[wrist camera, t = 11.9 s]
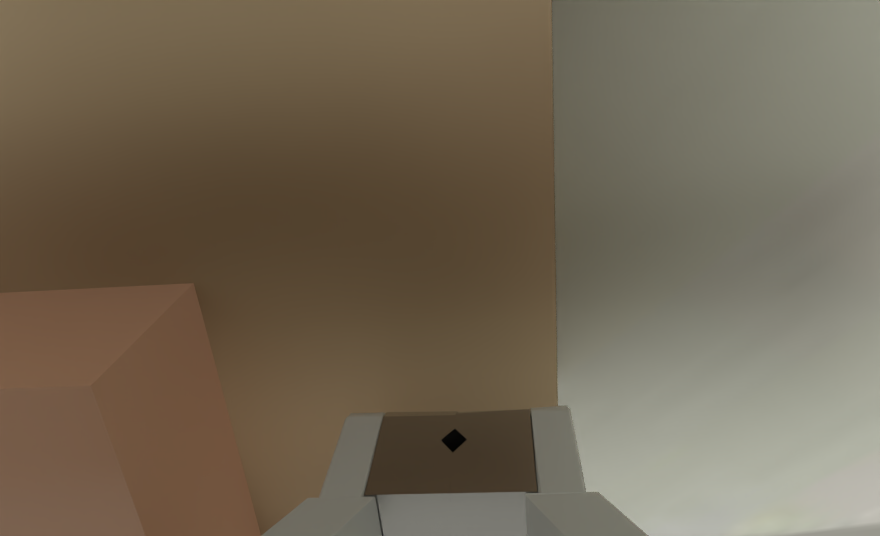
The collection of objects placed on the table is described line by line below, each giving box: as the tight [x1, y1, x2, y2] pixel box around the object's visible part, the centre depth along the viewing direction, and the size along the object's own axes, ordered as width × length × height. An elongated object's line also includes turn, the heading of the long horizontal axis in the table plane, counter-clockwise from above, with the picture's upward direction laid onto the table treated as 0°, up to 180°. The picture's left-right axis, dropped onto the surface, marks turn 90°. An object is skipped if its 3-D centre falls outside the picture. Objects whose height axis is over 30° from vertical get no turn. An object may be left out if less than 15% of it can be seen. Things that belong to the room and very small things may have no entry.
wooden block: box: [0, 0, 558, 535], centre depth 11 cm, size 14×11×6 cm
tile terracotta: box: [0, 283, 261, 536], centre depth 9 cm, size 5×5×2 cm
